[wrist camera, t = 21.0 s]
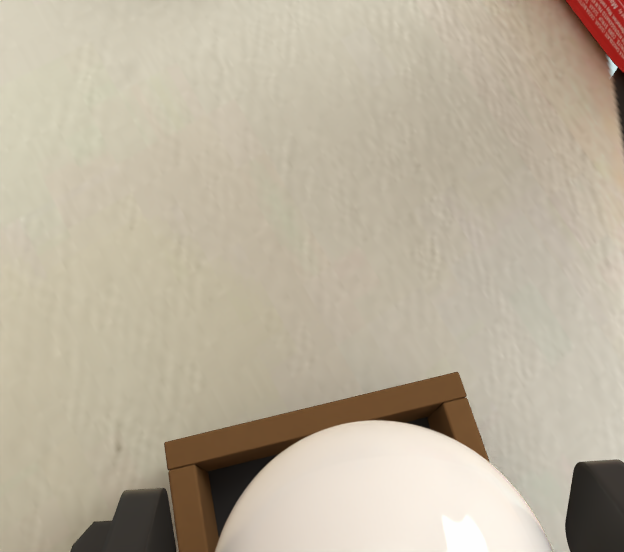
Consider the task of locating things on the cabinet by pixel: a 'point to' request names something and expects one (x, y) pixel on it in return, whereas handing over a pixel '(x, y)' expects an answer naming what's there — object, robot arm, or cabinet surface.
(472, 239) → the cabinet surface
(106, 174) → the cabinet surface
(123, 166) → the cabinet surface
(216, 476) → the socket pad
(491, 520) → the lightbulb
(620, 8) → the candy bar
